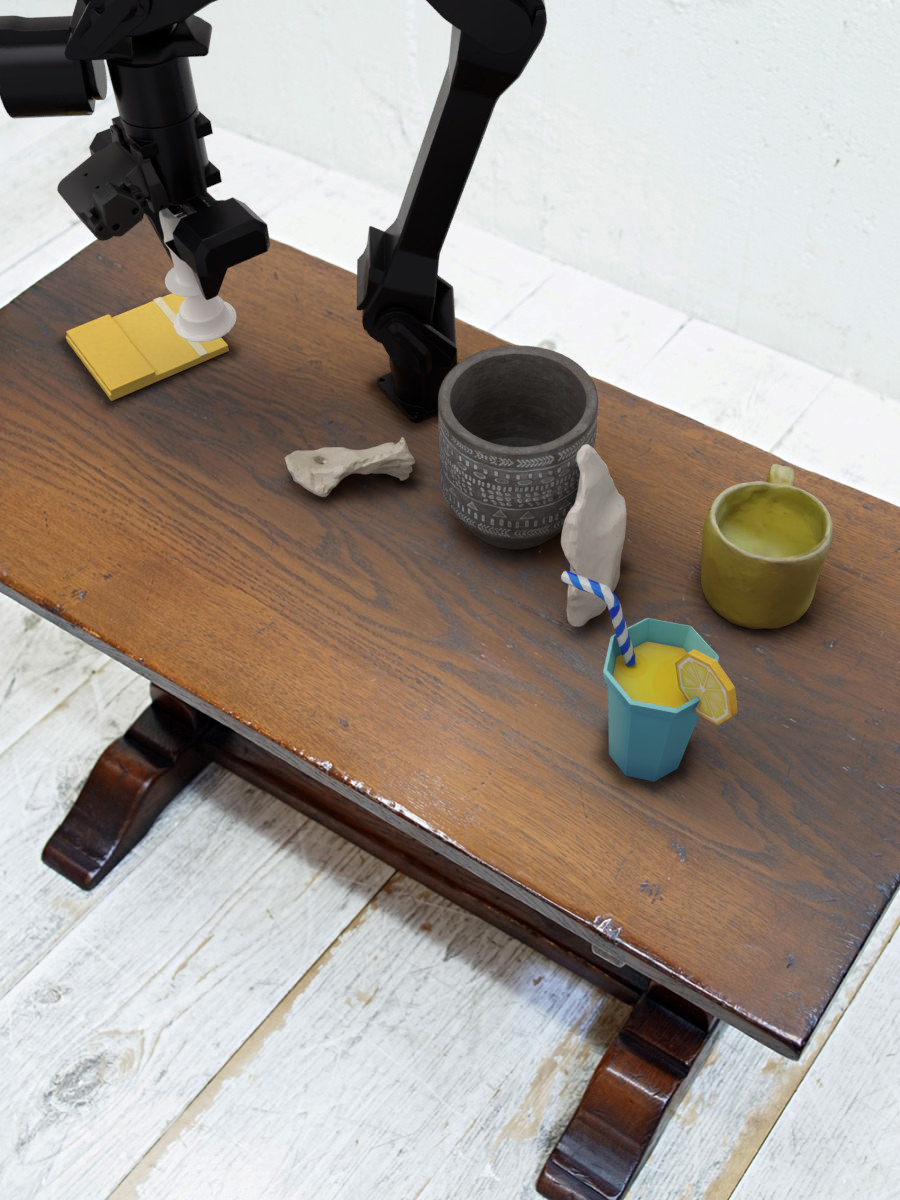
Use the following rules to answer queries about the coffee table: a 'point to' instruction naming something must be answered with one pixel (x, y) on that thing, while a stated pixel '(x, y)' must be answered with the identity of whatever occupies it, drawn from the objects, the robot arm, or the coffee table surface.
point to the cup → (656, 688)
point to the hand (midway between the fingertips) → (196, 281)
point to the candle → (194, 297)
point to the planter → (514, 442)
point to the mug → (764, 551)
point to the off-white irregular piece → (347, 464)
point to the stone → (593, 535)
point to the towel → (138, 347)
